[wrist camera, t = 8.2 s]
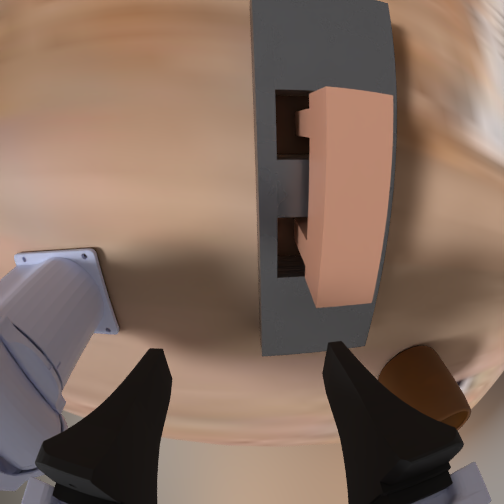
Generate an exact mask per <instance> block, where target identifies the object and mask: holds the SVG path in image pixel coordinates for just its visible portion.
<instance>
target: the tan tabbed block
mask: <svg viewBox="0 0 504 504" xmlns="http://www.w3.org/2000/svg"><path fill="white" fill-rule="evenodd" d="M295 135H297V136H303V137H308V138H310V152H309V203H308V218H295V222H294V240H295V243H296V245H297V247H298V249H299V252H300V254H301V257H302V259H303V261H304V264H305V280H306V282H307V285H308V287H309V290H310V293H311V295H312V298H313V301H314V303H315V306H316V308H323V307H335V306H346V305H357V304H367V303H372V300H373V295H374V290H375V285H376V280H377V275H378V270H379V264H380V259H381V253H382V246H383V240H384V233H385V226H386V218H387V210H388V201H389V191H390V179H391V166H392V147H393V95H388V94H382V93H376V92H370V91H363V90H355V89H347V88H338V87H327V86H326V87H323V88H321V89H319V90H317V91H314V92H312V93H310V94H309V109H305V110H301V111H297V112H295Z"/></svg>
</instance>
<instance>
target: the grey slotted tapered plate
mask: <svg viewBox="0 0 504 504" xmlns="http://www.w3.org/2000/svg"><path fill="white" fill-rule="evenodd" d="M250 24H251V50H252V77H253V105H254V135H255V166H256V200H257V236H258V274H259V315H260V338H261V350H262V356H275V355H289V354H301V353H312V352H322V351H327V346H328V342H336V341H342V342H343V343H344V344H345V345H346V347H347V348H354V347H361V346H365V344H366V340H367V336H368V332H369V329H370V325H371V321H372V316H373V312H374V308H375V304H376V299H377V294H378V290H379V285H380V280H381V275H382V269H383V264H384V258H385V252H386V246H387V239H388V232H389V225H390V217H391V208H392V199H393V189H394V177H395V161H396V138H397V94H396V71H395V57H394V46H393V37H392V28H391V21H390V14H389V8H388V3H384V2H381V1H377V0H250ZM326 86H327V87H338V88H347V89H355V90H363V91H370V92H376V93H382V94H388V95H393V147H392V166H391V179H390V191H389V201H388V210H387V218H386V226H385V233H384V240H383V246H382V253H381V259H380V264H379V270H378V275H377V280H376V285H375V290H374V295H373V300H372V303H367V304H357V305H346V306H335V307H323V308H316V306H315V303H314V301H313V298H312V295H311V293H310V290H309V287H308V285H307V282H306V280H305V264H304V261H303V259H302V257H301V255H295V256H277V218H281V217H308V203H309V154H277V145H276V105H275V95H278V96H309V94H310V93H312V92H314V91H317V90H319V89H321V88H323V87H326Z"/></svg>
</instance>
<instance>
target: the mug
mask: <svg viewBox="0 0 504 504" xmlns="http://www.w3.org/2000/svg"><path fill="white" fill-rule="evenodd" d="M378 381H379V382H380V383H381V384H382V385H384V386H385V387H386V388H387V389H388V390H389V391H391V392H392V393H393V394H394V395H396V396H397V397H398V398H400V399H401V400H402V401H404V402H405V403H407V404H408V405H410V406H411V407H413V408H415V409H416V410H418V411H420V412H421V413H423V414H425V415H427V416H429V417H431V418H433V419H435V420H437V421H440V422H442V423H445V424H447V425H450V426H453V427H455V428H456V429H457V430H459V429H460V428H461V427H462V426H463V424H464V423H465V422H466V421H467V420H468V418H469V417H470V414H471V409H470V406H469V404H468V402H467V400H466V398H465V396H464V394H463V392H462V391H461V389H460V387H459V386H458V384H457V383H456V381H455V379H454V378H453V376H452V375H451V373H450V372H449V370H448V369H447V367H446V366H445V364H444V363H443V361H442V360H441V358H440V357H439V355H438V354H437V353H436V352H435V351H434V350H433V349H432V348H431V347H428V346H416V347H412V348H410V349H407V350H405V351H403V352H401V353H400V354H398V355H397V356H395V357H394V358H393V359H392V360H391V361H389V362H388V363H387V365H386V366H385V367H384V368H383V370H382V371H381V373H380V375H379V378H378Z"/></svg>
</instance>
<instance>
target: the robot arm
mask: <svg viewBox="0 0 504 504" xmlns="http://www.w3.org/2000/svg"><path fill="white" fill-rule="evenodd" d="M84 254H86V255H87V257H85V256H84ZM25 258H26V259H25ZM14 259H15V263H16V267H15V268H14V269H12V270H11V271H10V272H9V273H8V274H7V275H5V276H4V277H3V278H2V279H1V280H0V490H4V491H16V490H17V489H18V488H19V487H20V486H21V485H22V484H23V483H24V482H25V481H27V480H29V481H28V484H27V487H26V490H25V493H24V496H23V499H22V502H21V504H157V472H158V458H159V447H160V441H161V436H162V431H163V427H164V423H165V418H166V414H167V410H168V406H169V402H170V396H171V387H172V376H171V373H170V370H169V367H168V364H167V361H166V358H165V355H164V351H163V349H154V348H150V349H149V350H148V351H147V352H146V354H145V355H144V356H143V357H142V359H141V360H140V361H139V363H138V364H137V365H136V366H135V368H134V369H133V370H132V371H131V373H130V374H129V375H128V376H127V377H126V379H125V380H124V381H123V382H122V383H121V384H120V385H119V387H118V388H117V389H116V390H115V391H114V392H113V393H112V394H111V395H110V396H109V397H108V398H107V399H106V400H105V401H104V402H103V403H102V404H101V405H100V406H99V407H97V408H96V409H95V410H94V411H93V412H91V413H90V414H89V415H87V416H86V417H85V418H83V419H82V420H81V421H79V422H78V423H76V424H75V425H73V426H72V427H70V428H68V426H67V423H66V421H65V419H64V417H63V416H62V414H61V412H62V410H63V408H64V406H65V404H66V401H65V400H64V398H63V396H62V393H61V392H62V390H63V388H64V386H65V384H66V382H67V381H68V379H69V377H70V375H71V373H72V371H73V369H74V367H75V365H76V363H77V362H78V360H79V358H80V356H81V354H82V352H83V351H84V349H85V347H86V345H87V343H88V342H89V340H90V338H91V336H92V335H93V333H101V334H118V332H119V326H118V323H117V320H116V317H115V314H114V311H113V308H112V305H111V302H110V299H109V296H108V293H107V289H106V286H105V283H104V279H103V276H102V272H101V268H100V265H99V261H98V257H97V253H96V251H95V250H94V249H91V248H86V249H70V250H55V251H39V252H25V253H17V254H16V255H15V256H14ZM108 328H109V329H108ZM322 374H323V379H324V385H325V390H326V394H327V397H328V400H329V404H330V407H331V410H332V413H333V416H334V419H335V422H336V426H337V429H338V432H339V436H340V440H341V445H342V451H343V457H344V463H345V470H346V478H347V488H348V502H349V504H488V503H490V502H491V498H490V495H489V493H488V490H487V488H486V485H485V483H484V481H483V478H482V476H481V474H480V471H479V469H478V467H477V465H476V462H472V463H470V464H469V465H467V466H465V467H463V468H461V469H459V470H457V471H455V472H454V473H452V474H451V475H450V474H449V472H448V470H449V469H450V468H451V466H450V464H449V461H450V460H451V459H452V458H453V457H454V456H455V455H456V454H457V453H458V452H459V451H460V450H461V449H462V447H463V445H464V444H463V441H462V439H461V437H460V435H459V433H458V431H457V429H456V428H455V427H453V426H450V425H447V424H445V423H442V422H440V421H437V420H435V419H433V418H431V417H429V416H427V415H425V414H423V413H421V412H420V411H418V410H416V409H415V408H413V407H411V406H410V405H408V404H407V403H405V402H404V401H402V400H401V399H400V398H398V397H397V396H396V395H394V394H393V393H392V392H391V391H389V390H388V389H387V388H386V387H385V386H384V385H382V384H381V383H380V382H379V381H378V380H377V379H376V378H375V377H374V376H373V375H372V374H371V373H370V372H369V371H368V370H367V369H366V368H365V367H364V366H363V365H362V364H361V363H360V361H359V360H358V359H357V358H356V357H355V356H354V355H353V354H352V352H351V351H350V350H349V349H348V348H347V347H346V345H345V344H344V343H343V342H342V341H336V342H328V346H327V352H326V357H325V362H324V368H323V373H322ZM44 474H45V475H47V476H48V477H49V478H51V479H52V480H53V481H55V482H56V485H55V487H53V486H51V485H49V484H47V483H45V482H43V481H41V480H38V479H36V478H34V477H37V476H41V475H44Z"/></svg>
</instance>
